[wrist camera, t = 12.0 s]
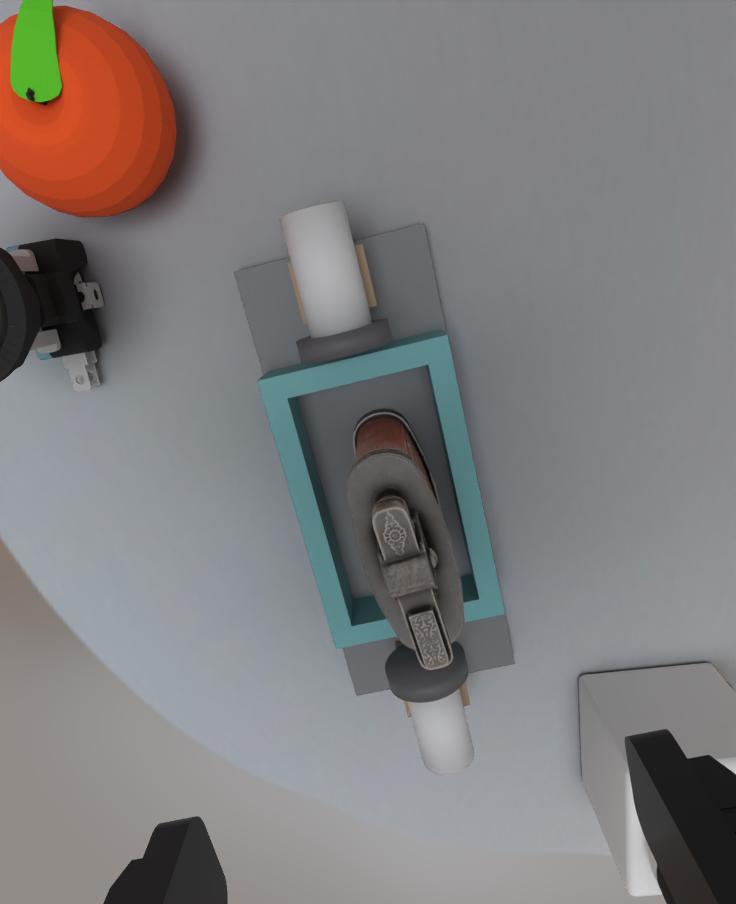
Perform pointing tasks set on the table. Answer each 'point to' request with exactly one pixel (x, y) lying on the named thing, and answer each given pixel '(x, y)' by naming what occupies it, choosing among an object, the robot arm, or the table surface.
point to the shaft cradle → (332, 452)
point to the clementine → (81, 112)
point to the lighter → (404, 537)
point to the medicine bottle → (640, 711)
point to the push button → (48, 308)
